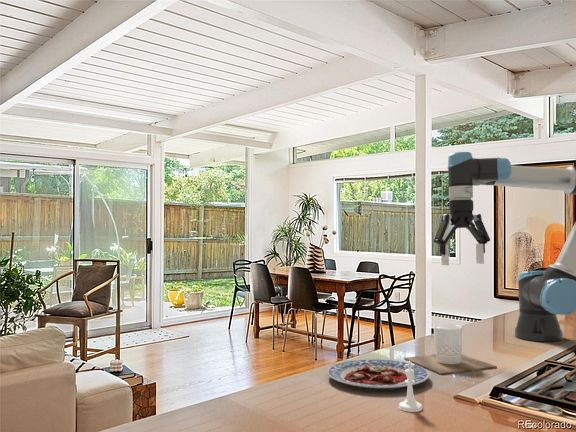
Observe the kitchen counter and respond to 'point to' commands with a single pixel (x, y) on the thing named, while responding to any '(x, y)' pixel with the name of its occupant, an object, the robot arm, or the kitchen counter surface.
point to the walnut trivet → (442, 369)
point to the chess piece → (410, 393)
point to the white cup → (448, 343)
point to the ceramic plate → (376, 373)
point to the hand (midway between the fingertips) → (463, 264)
